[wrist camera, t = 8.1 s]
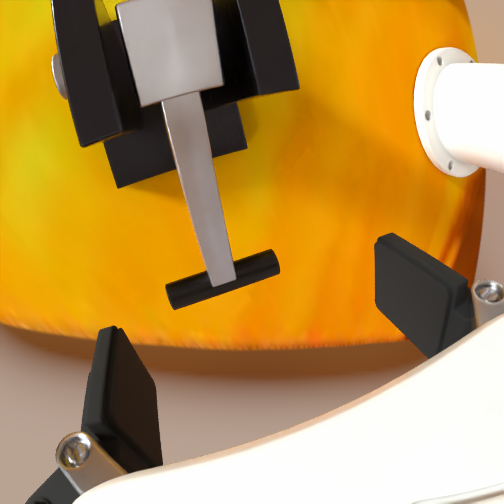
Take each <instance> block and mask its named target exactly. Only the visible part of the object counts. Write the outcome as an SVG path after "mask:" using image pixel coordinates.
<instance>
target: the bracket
mask: <svg viewBox="0 0 504 504" xmlns="http://www.w3.org/2000/svg"><path fill="white" fill-rule="evenodd" d="M213 1H214V8H215V16H216V23H217V30H218V37H219V44H220V51H221V58H222V65H223V72H224V79H225V84H224V85H223V86H219V87H215V88H211V89H206V90H202V91H200V95H201V100H202V106H203V111H204V116H205V122H206V127H207V132H208V138H209V143H210V148H211V153H212V158H214V157H218V156H222V155H225V154H229V153H233V152H236V151H240V150H244V149H247V148H248V147H247V143H246V139H245V134H244V130H243V126H242V121H241V117H240V113H239V108H238V104H237V103H239V102H243V101H247V100H251V99H255V98H260V97H264V96H269V95H273V94H278V93H283V92H288V91H293V90H298V89H300V85H299V81H298V76H297V72H296V67H295V63H294V59H293V54H292V50H291V46H290V42H289V38H288V34H287V30H286V26H285V22H284V18H283V15H282V11H281V7H280V4H279V0H213ZM51 8H52V16H53V24H54V31H55V38H56V44H57V50H58V53H57V54H55V55H54V56H53V58H52V71H53V76H54V80H55V83H56V86H57V88H58V91H59V92H60V94H61V96H62V97H63V98H64V99H68V103H69V107H70V111H71V115H72V118H73V122H74V126H75V130H76V133H77V137H78V140H79V144H80V146H81V147H82V148H85V147H88V146H92V145H95V144H98V143H101V142H103V143H104V147H105V150H106V154H107V157H108V160H109V163H110V167H111V170H112V173H113V176H114V179H115V182H116V185H117V188H118V189H119V188H122V187H124V186H127V185H130V184H133V183H136V182H138V181H141V180H144V179H147V178H150V177H153V176H156V175H159V174H162V173H165V172H168V171H171V170H175V169H177V168H176V165H175V161H174V157H173V154H172V150H171V146H170V142H169V138H168V135H167V131H166V127H165V123H164V119H163V115H162V111H161V107H160V103H159V102H158V103H155V104H151V105H148V106H145V107H140V106H139V105H138V101H137V98H136V94H135V90H134V86H133V83H132V79H131V75H130V71H129V67H128V63H127V59H126V55H125V51H124V46H123V42H122V38H121V33H120V29H119V25H118V20H114V21H111V20H110V18H109V16H108V13H107V11H106V8H105V6H104V3H103V1H102V0H51Z"/></svg>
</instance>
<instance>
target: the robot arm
mask: <svg viewBox="0 0 504 504" xmlns="http://www.w3.org/2000/svg"><path fill="white" fill-rule="evenodd" d="M414 110H415V120H416V125H417V130H418V134H419V137H420V140H421V143H422V146H423V148H424V150H425V152H426V154H427V156H428V157H429V159H430V160H431V161H432V163H433V164H434V165H435V166H436V167H437V168H438V169H439V170H440V171H442V172H444V173H446V174H448V175H451V176H455V177H466V176H469V175H471V174H472V173H474V172H475V171H476V170H477V169H478V168H479V167H482V168H486V169H489V170H492V171H496V172H499V173H502V174H504V64H493V63H491V64H490V63H476V62H475V61H474V60H473V59H472V58H471V57H470V56H469V55H468V54H466V53H465V52H463V51H462V50H460V49H457V48H439V49H436V50H434V51H432V52H431V53H429V55H428V56H427V57H426V58H425V59H424V61H423V62H422V64H421V66H420V68H419V71H418V75H417V78H416V83H415V90H414ZM374 251H375V303H376V306H377V308H378V309H379V310H380V311H381V312H382V313H383V314H384V315H385V316H386V317H387V318H388V319H389V320H390V321H391V322H392V323H393V324H394V325H395V326H396V327H397V328H398V329H399V330H400V331H401V332H402V333H403V334H404V335H405V336H406V337H407V338H408V339H409V340H410V341H411V342H412V343H413V344H414V345H415V346H417V348H418V349H419V350H420V351H421V352H422V353H423V354H424V355H425V356H427V357H428V359H429V360H427V361H426V362H424V363H422V364H421V365H419V366H417V367H416V368H414V369H412V370H410V371H409V372H407V373H405V374H403V375H402V376H400V377H398V378H397V379H394V380H393V381H391V382H389V383H387V384H385V385H383V386H381V387H380V388H378V389H376V390H374V391H372V392H370V393H368V394H366V395H364V396H362V397H360V398H358V399H356V400H354V401H352V402H350V403H347V404H345V405H343V406H341V407H339V408H336V409H335V410H332V411H330V412H327V413H325V414H323V415H321V416H318V417H316V418H313V419H311V420H309V421H306V422H304V423H301V424H299V425H296V426H293V427H291V428H288V429H286V430H283V431H280V432H278V433H275V434H272V435H269V436H267V437H263V438H260V439H258V440H255V441H251V442H248V443H245V444H242V445H239V446H236V447H233V448H229V449H226V450H222V451H219V452H215V453H211V454H207V455H204V456H200V457H196V458H192V459H188V460H184V461H180V462H176V463H172V464H167V465H163V460H162V451H161V442H160V432H159V422H158V409H157V396H156V386H155V383H154V381H153V379H152V378H151V376H150V374H149V373H148V371H147V369H146V368H145V366H144V365H143V363H142V361H141V360H140V358H139V356H138V355H137V353H136V351H135V350H134V348H133V346H132V344H131V343H130V341H129V339H128V337H127V336H126V334H125V332H124V331H123V329H122V328H119V329H118V328H117V327H116V326H111V327H107V328H104V329H101V330H99V333H98V337H97V342H96V348H95V353H94V358H93V364H92V369H91V372H90V373H89V376H88V382H87V388H86V395H85V402H84V409H83V417H82V426H81V432H74V433H71V434H69V435H67V436H66V437H64V438H63V439H62V440H61V442H60V443H59V445H58V447H57V449H56V455H55V456H56V462H57V464H58V466H59V468H58V469H57V470H56V471H55V472H54V473H53V474H52V475H51V476H50V477H49V478H48V479H47V480H46V481H45V482H44V483H43V484H42V486H40V487H39V488H38V489H37V491H36V492H35V493H34V494H33V495H32V496H31V497H30V498H29V499H28V500H27V502H26V503H25V504H504V287H503V286H502V285H501V284H499V283H497V282H495V281H491V280H480V281H477V282H475V283H474V284H473V285H472V287H471V289H470V288H469V287H467V285H468V279H466V278H465V277H463V276H462V275H460V274H459V273H457V272H456V271H454V270H452V269H451V268H449V267H448V266H446V265H445V264H443V263H442V262H440V261H438V260H437V259H435V258H434V257H432V256H431V255H429V254H427V253H426V252H424V251H422V250H421V249H419V248H418V247H416V246H414V245H413V244H411V243H409V242H408V241H406V240H404V239H403V238H401V237H399V236H398V235H396V234H394V233H389V234H386V235H383V236H381V237H379V238H378V239H377V242H376V243H375V245H374Z"/></svg>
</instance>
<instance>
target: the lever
mask: <svg viewBox="0 0 504 504" xmlns="http://www.w3.org/2000/svg"><path fill="white" fill-rule="evenodd" d="M115 11H116V15H117V20H118V25H119V29H120V33H121V38H122V42H123V46H124V51H125V55H126V59H127V63H128V67H129V71H130V75H131V79H132V83H133V86H134V90H135V94H136V98H137V101H138V105H139V106H140V107H145V106H148V105H151V104H155V103H158V102H159V103H160V107H161V111H162V115H163V119H164V123H165V127H166V131H167V135H168V138H169V142H170V146H171V150H172V154H173V157H174V161H175V165H176V168H177V172H178V176H179V179H180V183H181V186H182V190H183V193H184V197H185V200H186V204H187V207H188V211H189V214H190V218H191V221H192V224H193V228H194V231H195V234H196V238H197V241H198V244H199V248H200V251H201V254H202V257H203V260H204V264H205V267H206V270H207V271H204V272H201V273H198V274H195V275H192V276H189V277H186V278H183V279H180V280H177V281H174V282H171V283H168V284H166V285H165V289H166V293H167V296H168V299H169V302H170V304H171V306H172V308H173V309H174V310H176V309H179V308H182V307H185V306H188V305H191V304H194V303H197V302H200V301H203V300H206V299H209V298H212V297H215V296H218V295H221V294H224V293H227V292H229V291H232V290H235V289H238V288H241V287H244V286H247V285H249V284H252V283H255V282H258V281H261V280H264V279H266V278H269V277H272V276H275V275H278V274H279V273H280V266H279V262H278V259H277V257H276V255H275V253H274V251H273V250H272V249H269V250H266V251H263V252H260V253H257V254H254V255H251V256H248V257H245V258H242V259H239V260H236V261H233V258H232V253H231V249H230V244H229V239H228V234H227V229H226V224H225V219H224V214H223V209H222V204H221V199H220V194H219V189H218V184H217V179H216V174H215V169H214V164H213V159H212V153H211V148H210V143H209V138H208V132H207V127H206V122H205V116H204V111H203V106H202V100H201V95H200V91H202V90H206V89H211V88H215V87H219V86H223V85H224V84H225V79H224V72H223V65H222V58H221V51H220V44H219V37H218V30H217V23H216V16H215V8H214V1H213V0H128V1H124V2H121V3H118V4H117V5H116V6H115Z"/></svg>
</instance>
